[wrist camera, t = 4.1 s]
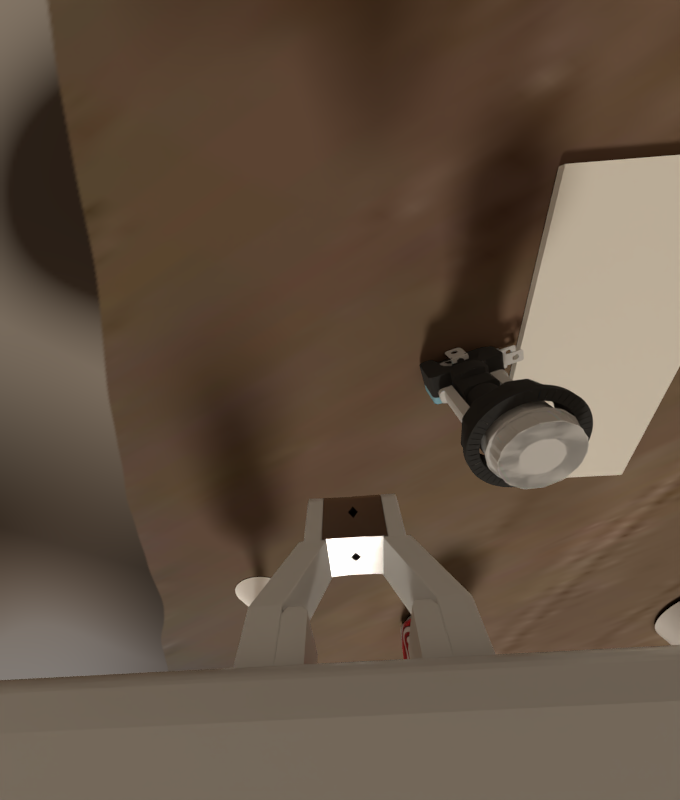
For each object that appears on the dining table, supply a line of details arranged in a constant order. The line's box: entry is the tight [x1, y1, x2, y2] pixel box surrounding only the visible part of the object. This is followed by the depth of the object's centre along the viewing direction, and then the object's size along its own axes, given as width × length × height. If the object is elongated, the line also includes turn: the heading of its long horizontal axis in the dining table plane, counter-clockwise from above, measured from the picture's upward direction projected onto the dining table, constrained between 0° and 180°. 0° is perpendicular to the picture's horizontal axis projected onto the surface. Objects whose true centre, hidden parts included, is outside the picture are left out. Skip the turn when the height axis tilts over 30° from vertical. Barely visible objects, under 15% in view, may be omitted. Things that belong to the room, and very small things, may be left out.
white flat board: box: [509, 155, 680, 477], centre depth 20 cm, size 12×22×1 cm, turn 4°
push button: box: [420, 345, 593, 489], centre depth 16 cm, size 7×5×10 cm
